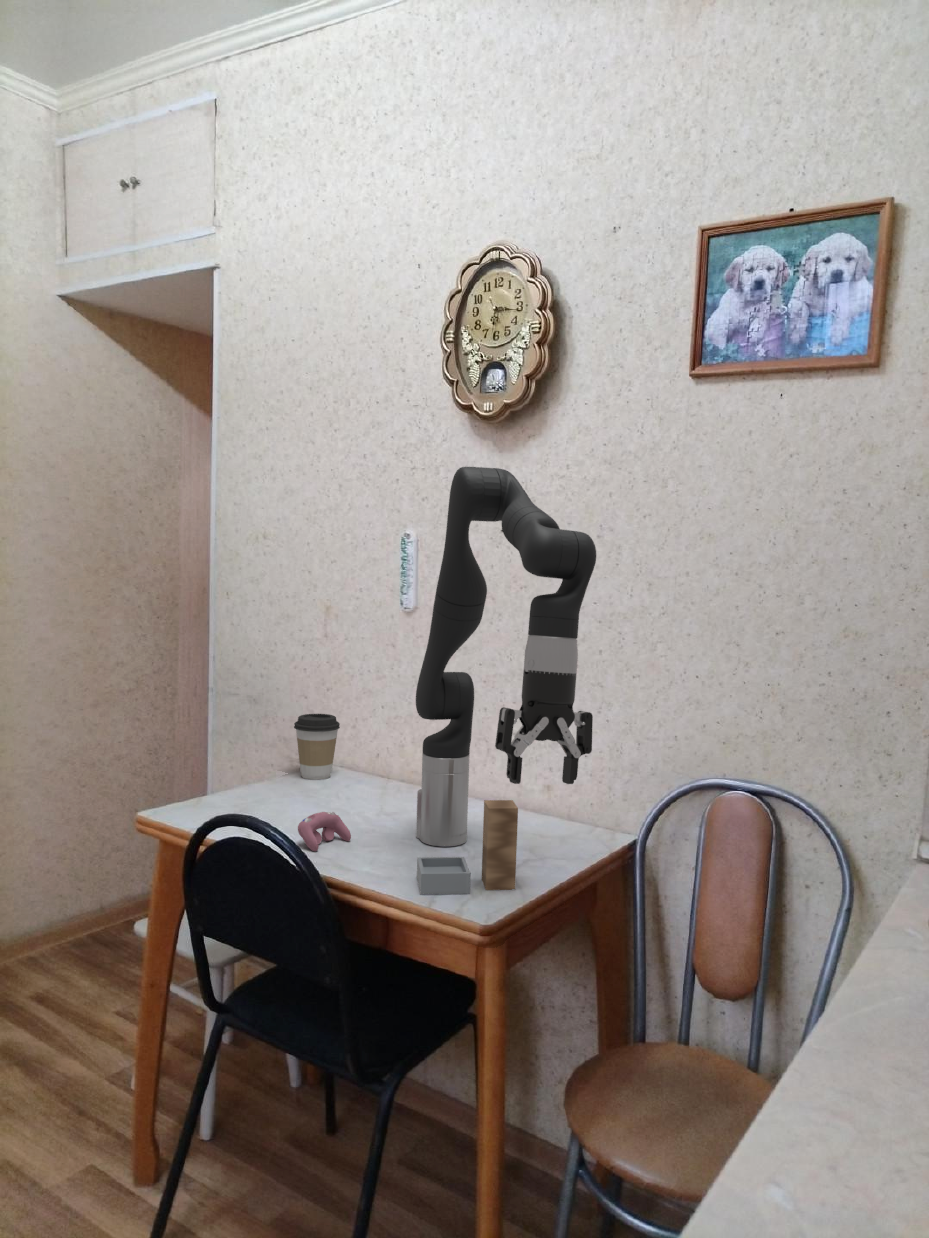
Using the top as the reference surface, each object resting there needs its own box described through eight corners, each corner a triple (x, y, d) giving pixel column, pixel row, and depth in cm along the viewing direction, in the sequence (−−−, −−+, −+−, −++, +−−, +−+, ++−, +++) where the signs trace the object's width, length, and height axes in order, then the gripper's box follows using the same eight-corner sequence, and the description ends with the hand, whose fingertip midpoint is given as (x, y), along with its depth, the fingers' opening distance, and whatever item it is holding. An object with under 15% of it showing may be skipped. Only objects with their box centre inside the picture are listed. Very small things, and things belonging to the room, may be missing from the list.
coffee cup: (345, 772, 229) (346, 714, 228) (330, 783, 218) (331, 722, 217) (302, 769, 231) (303, 711, 230) (285, 780, 220) (286, 719, 219)
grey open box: (420, 894, 149) (421, 873, 148) (416, 876, 157) (417, 857, 157) (469, 893, 150) (470, 873, 150) (463, 876, 158) (464, 856, 158)
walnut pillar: (485, 890, 152) (488, 808, 151) (481, 879, 157) (484, 800, 156) (515, 889, 152) (518, 808, 151) (509, 879, 157) (512, 800, 156)
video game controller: (339, 844, 178) (329, 810, 179) (354, 839, 175) (344, 804, 177) (301, 856, 170) (290, 820, 172) (316, 851, 167) (305, 814, 169)
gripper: (580, 670, 134) (571, 779, 134) (493, 664, 129) (484, 778, 129) (607, 673, 128) (598, 788, 127) (517, 667, 122) (507, 787, 122)
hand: (541, 783), depth 128 cm, fingers open, 8 cm apart
